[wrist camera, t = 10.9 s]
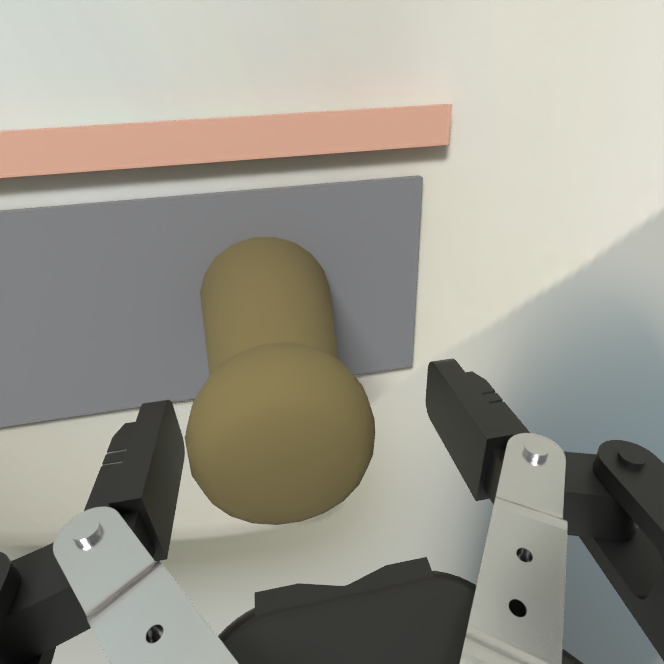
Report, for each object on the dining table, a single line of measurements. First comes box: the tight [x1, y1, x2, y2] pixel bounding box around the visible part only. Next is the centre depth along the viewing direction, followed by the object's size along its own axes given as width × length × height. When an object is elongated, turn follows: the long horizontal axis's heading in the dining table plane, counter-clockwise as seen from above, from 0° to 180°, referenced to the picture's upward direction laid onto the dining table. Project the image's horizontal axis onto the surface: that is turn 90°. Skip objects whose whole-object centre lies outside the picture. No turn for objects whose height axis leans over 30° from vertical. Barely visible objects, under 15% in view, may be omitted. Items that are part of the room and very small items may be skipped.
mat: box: [0, 176, 423, 427], centre depth 20 cm, size 22×10×1 cm, turn 93°
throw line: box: [0, 104, 452, 178], centre depth 16 cm, size 24×2×1 cm, turn 93°
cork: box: [185, 237, 375, 525], centre depth 15 cm, size 6×6×11 cm
